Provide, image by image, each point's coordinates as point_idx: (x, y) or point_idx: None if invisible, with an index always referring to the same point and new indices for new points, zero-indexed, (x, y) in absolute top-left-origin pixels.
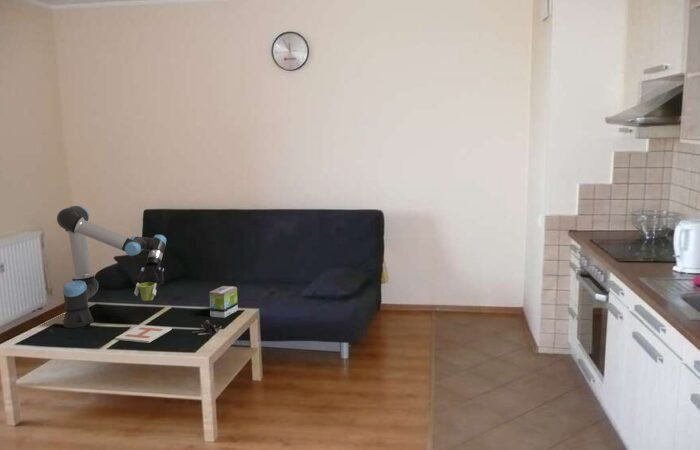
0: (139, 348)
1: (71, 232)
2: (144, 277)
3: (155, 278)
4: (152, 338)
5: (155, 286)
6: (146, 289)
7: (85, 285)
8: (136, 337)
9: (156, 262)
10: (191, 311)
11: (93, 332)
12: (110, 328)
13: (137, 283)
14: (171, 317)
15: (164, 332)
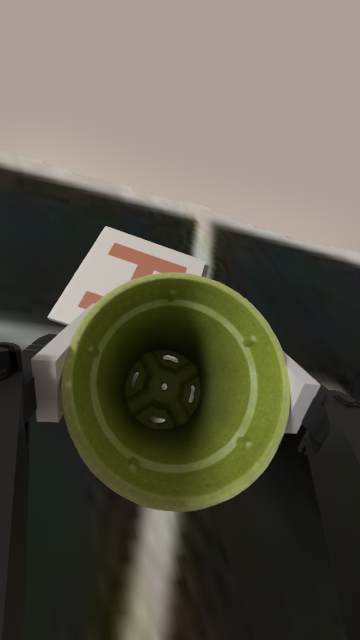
0: (121, 205)
1: None
2: (351, 597)
3: (13, 445)
4: (98, 239)
5: (61, 335)
6: (156, 300)
7: None
8: (148, 253)
9: None
10: None
11: (291, 324)
12: None
13: (308, 378)
14: (69, 492)
15: (70, 283)
